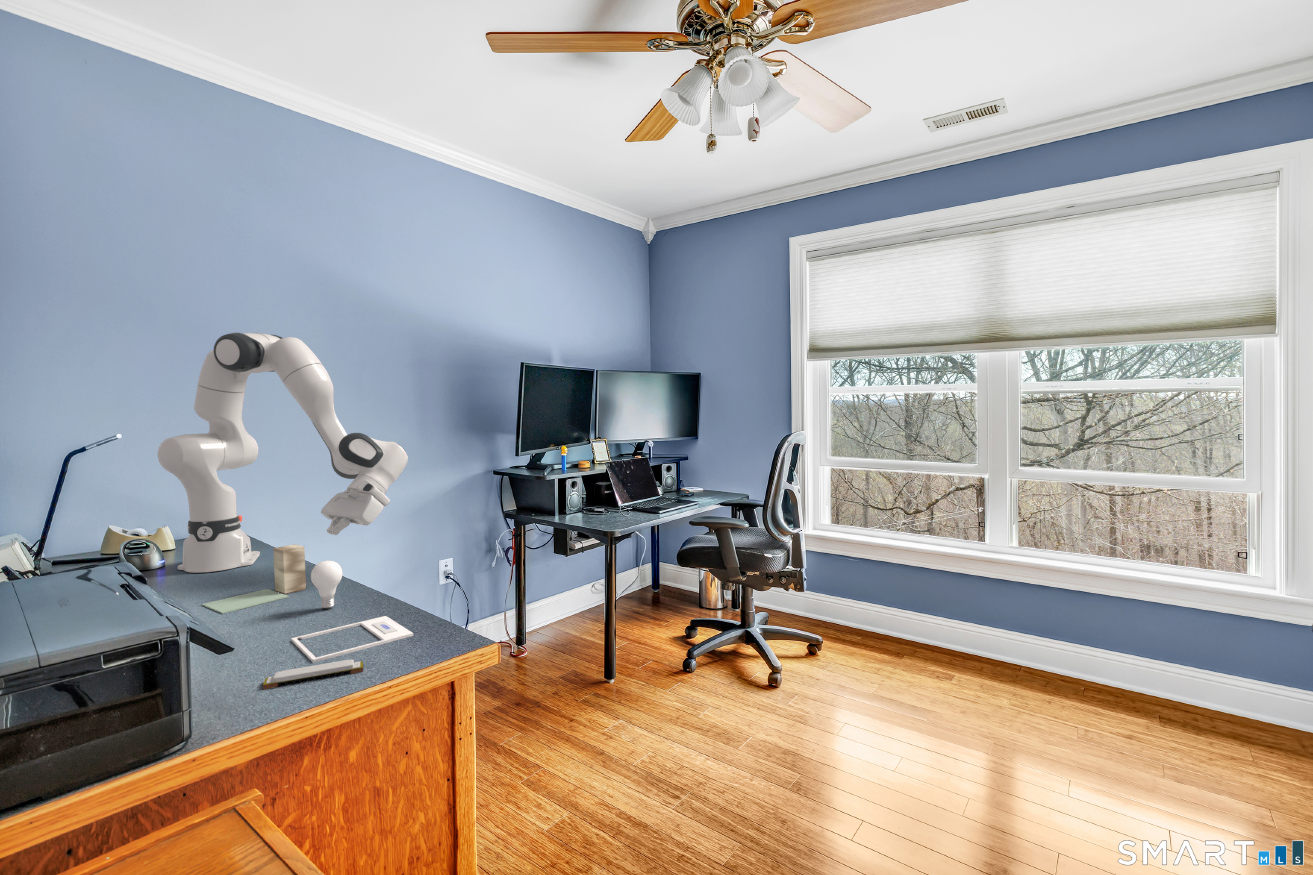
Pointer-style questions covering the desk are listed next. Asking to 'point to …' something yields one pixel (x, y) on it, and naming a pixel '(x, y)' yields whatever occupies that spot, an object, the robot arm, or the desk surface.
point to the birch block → (289, 569)
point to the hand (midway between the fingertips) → (331, 533)
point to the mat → (244, 601)
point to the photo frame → (379, 627)
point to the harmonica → (312, 672)
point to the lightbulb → (326, 581)
